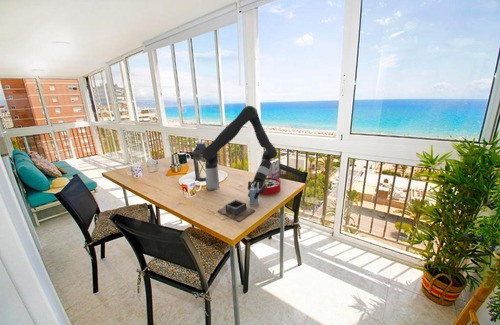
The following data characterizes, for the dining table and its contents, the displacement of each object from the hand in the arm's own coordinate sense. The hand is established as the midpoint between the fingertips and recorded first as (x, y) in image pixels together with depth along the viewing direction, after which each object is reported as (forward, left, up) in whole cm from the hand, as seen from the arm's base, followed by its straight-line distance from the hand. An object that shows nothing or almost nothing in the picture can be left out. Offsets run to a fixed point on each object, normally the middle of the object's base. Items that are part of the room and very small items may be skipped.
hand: (252, 197), depth 126 cm
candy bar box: (+11, +46, -5) cm, 47 cm away
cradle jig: (-8, -10, -5) cm, 14 cm away
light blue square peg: (+1, +2, -5) cm, 5 cm away
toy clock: (+7, +24, -5) cm, 26 cm away
